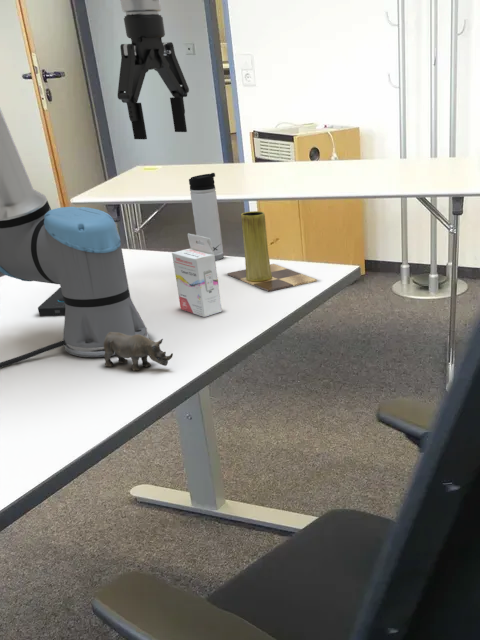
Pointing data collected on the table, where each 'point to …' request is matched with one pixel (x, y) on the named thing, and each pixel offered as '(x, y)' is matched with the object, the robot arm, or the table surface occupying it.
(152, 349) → the rhino figurine
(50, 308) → the smart home device
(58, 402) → the table surface
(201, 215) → the travel mug
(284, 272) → the board
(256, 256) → the vase
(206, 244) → the ink cartridge box
